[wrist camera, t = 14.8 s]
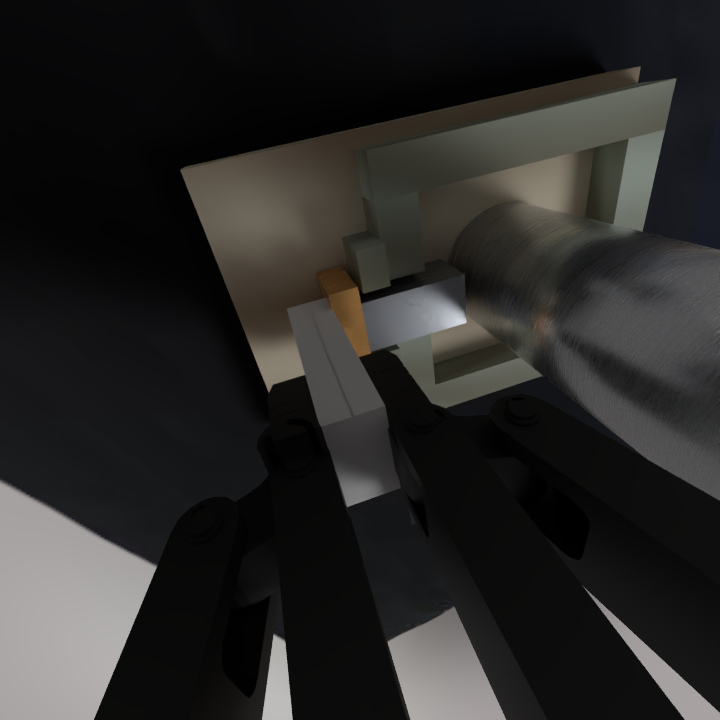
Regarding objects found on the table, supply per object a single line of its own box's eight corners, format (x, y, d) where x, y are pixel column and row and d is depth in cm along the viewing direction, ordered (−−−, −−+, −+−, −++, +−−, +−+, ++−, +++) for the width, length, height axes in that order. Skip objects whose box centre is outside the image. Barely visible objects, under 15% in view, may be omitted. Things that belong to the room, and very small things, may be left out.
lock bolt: (315, 272, 14) (328, 294, 12) (439, 239, 15) (469, 255, 13) (336, 352, 16) (349, 383, 14) (444, 320, 17) (471, 344, 15)
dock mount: (186, 166, 13) (170, 175, 10) (607, 71, 15) (695, 57, 12) (286, 424, 19) (294, 475, 17) (570, 333, 22) (622, 364, 19)
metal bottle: (442, 218, 15) (896, 408, 5) (557, 188, 15) (1181, 294, 5) (449, 330, 17) (741, 606, 7) (546, 301, 18) (941, 516, 8)
